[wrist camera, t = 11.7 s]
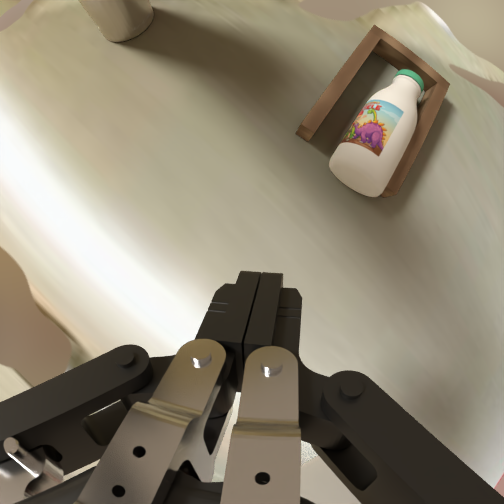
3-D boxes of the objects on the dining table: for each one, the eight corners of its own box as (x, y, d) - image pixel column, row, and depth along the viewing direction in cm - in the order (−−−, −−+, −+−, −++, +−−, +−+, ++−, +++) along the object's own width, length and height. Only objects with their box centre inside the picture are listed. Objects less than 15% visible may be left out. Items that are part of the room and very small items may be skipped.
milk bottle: (352, 195, 41) (406, 100, 41) (391, 202, 34) (443, 96, 34) (316, 160, 38) (378, 65, 37) (354, 160, 31) (415, 55, 30)
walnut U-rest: (295, 133, 39) (300, 123, 35) (366, 37, 38) (374, 24, 34) (383, 197, 40) (396, 194, 36) (437, 92, 39) (450, 83, 35)
